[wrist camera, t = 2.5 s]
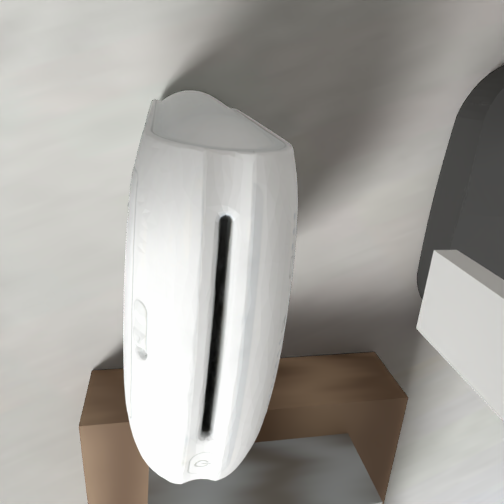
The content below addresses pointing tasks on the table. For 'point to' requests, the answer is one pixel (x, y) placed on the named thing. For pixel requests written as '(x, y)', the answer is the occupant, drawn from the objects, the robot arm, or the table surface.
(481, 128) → the media streaming box
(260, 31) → the table surface
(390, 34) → the table surface
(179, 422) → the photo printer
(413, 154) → the table surface
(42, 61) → the table surface
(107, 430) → the grey block on wood
